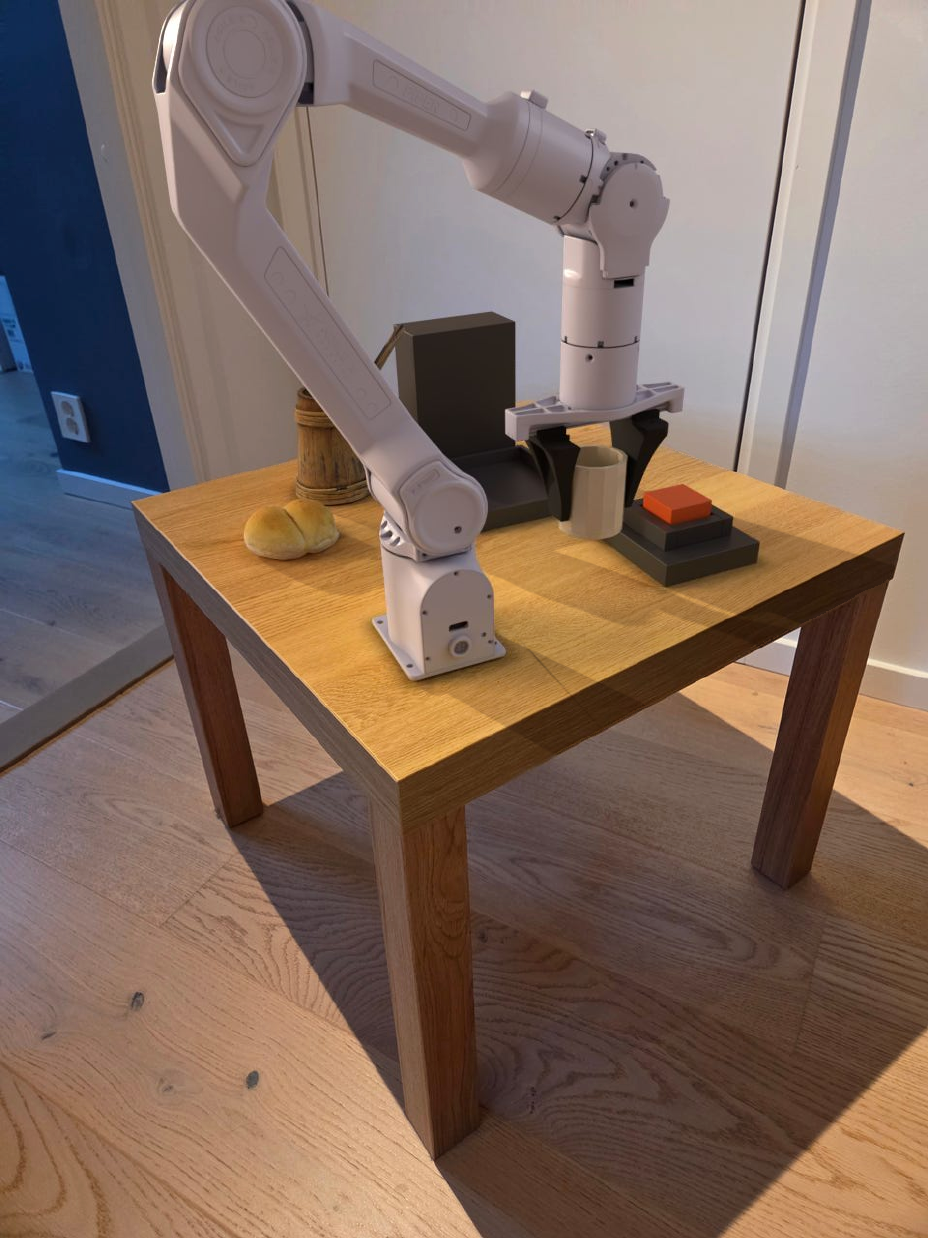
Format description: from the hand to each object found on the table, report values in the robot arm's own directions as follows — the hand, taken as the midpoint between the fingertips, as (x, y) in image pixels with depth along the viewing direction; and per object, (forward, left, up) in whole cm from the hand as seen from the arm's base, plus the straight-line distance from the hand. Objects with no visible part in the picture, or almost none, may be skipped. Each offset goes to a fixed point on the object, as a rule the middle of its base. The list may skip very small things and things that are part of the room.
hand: (591, 509), depth 69 cm
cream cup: (0, 0, -1) cm, 1 cm away
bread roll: (+22, +20, -8) cm, 31 cm away
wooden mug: (+32, +11, -8) cm, 35 cm away
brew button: (+4, -12, -5) cm, 13 cm away
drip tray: (+23, -3, -8) cm, 25 cm away
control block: (+4, -12, -8) cm, 15 cm away
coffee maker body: (+34, -3, -8) cm, 35 cm away
